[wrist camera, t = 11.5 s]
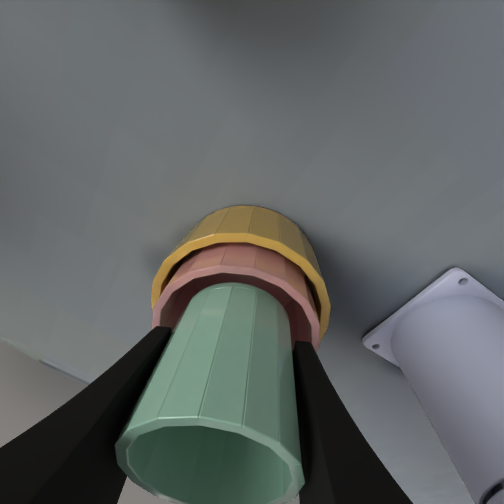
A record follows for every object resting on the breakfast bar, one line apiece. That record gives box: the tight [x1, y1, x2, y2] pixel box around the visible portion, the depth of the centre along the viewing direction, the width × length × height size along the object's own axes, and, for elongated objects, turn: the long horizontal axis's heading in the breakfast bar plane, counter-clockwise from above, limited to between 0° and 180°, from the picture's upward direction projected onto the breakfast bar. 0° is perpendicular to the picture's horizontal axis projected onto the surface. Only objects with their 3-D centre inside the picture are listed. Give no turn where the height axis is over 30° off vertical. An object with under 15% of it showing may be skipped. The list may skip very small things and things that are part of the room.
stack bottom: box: [151, 205, 331, 342], centre depth 14 cm, size 9×9×4 cm
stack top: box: [152, 242, 320, 353], centre depth 13 cm, size 8×8×6 cm
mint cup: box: [115, 282, 305, 504], centre depth 9 cm, size 5×5×6 cm
